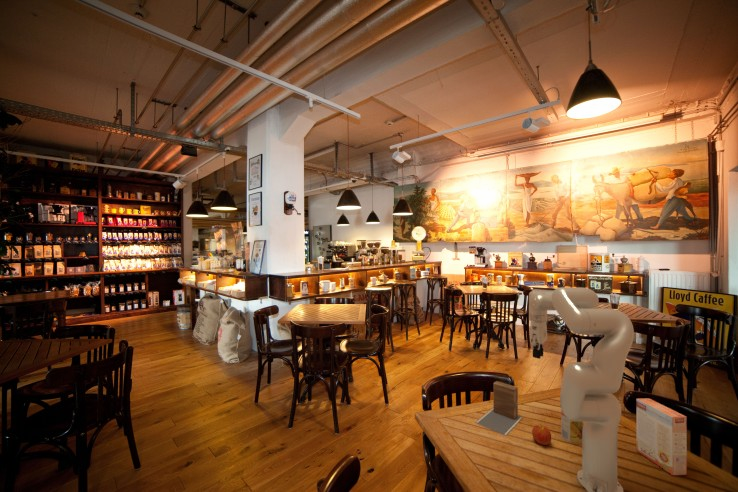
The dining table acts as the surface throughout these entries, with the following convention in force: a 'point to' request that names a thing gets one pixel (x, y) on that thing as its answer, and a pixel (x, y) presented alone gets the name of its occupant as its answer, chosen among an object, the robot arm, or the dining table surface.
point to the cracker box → (661, 436)
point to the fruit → (541, 434)
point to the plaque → (506, 400)
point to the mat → (498, 422)
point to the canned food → (571, 429)
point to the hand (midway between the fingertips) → (538, 356)
